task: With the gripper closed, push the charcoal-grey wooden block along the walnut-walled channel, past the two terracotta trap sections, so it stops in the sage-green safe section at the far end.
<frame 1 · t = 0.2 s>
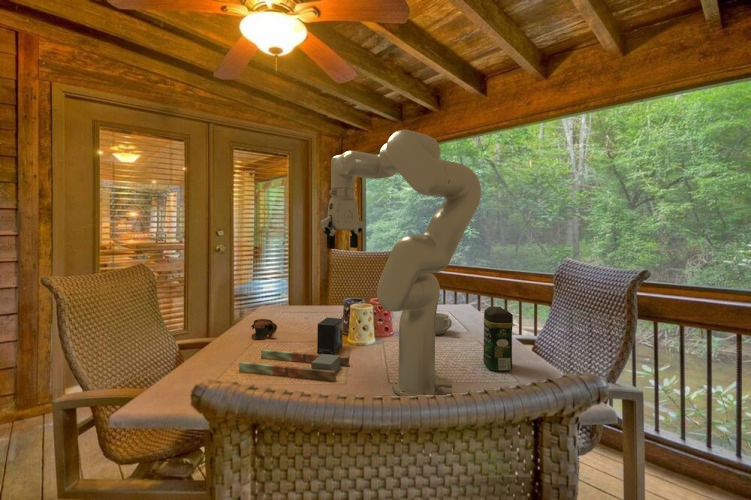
hand: (342, 248, 122), 36 cm above the table, tool pointing down, fingers open, 9 cm apart
coffee jar: (497, 367, 117), on the table
teacup: (437, 334, 155), on the table
pottery mug: (264, 337, 149), on the table
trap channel: (295, 368, 115), on the table
grey block: (326, 372, 113), on the table
small box: (330, 350, 133), on the table
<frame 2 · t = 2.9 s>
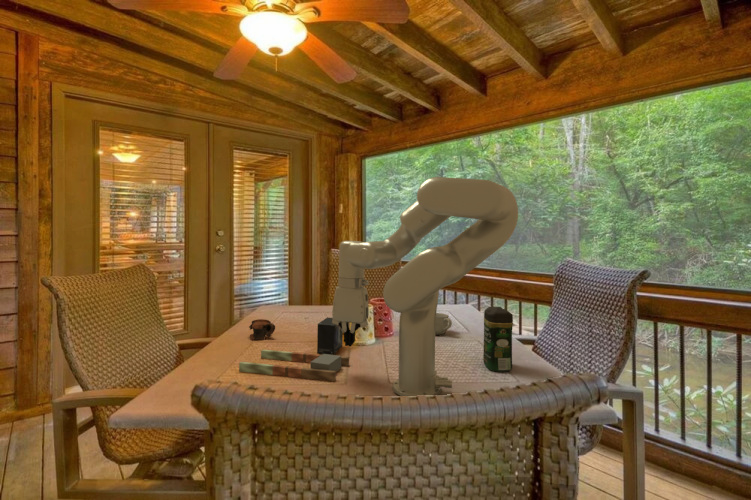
hand: (349, 344, 111), 8 cm above the table, tool pointing down, fingers closed
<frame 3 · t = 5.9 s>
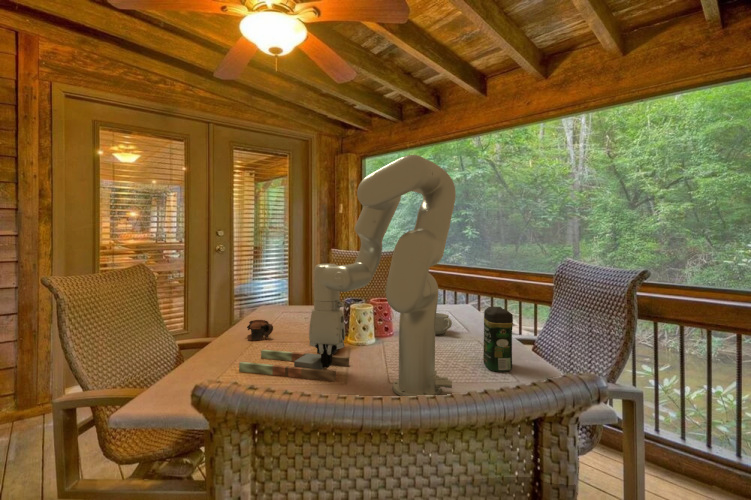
hand: (326, 366, 113), 2 cm above the table, tool pointing down, fingers closed
grey block: (310, 371, 113), on the table
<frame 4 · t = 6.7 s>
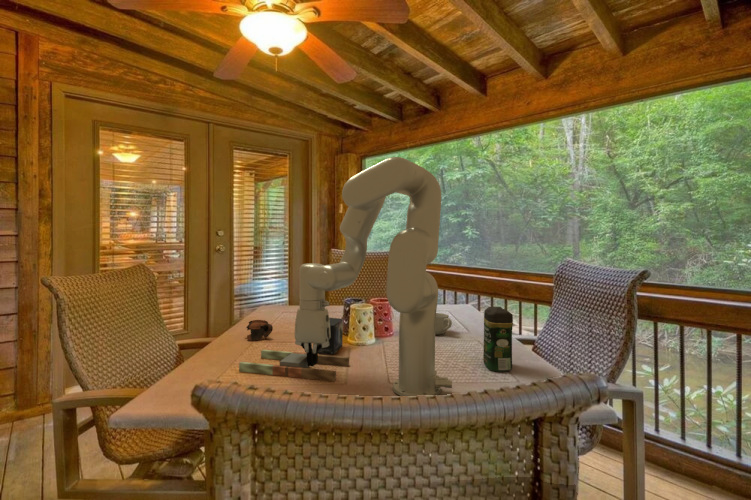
hand: (312, 364, 114), 2 cm above the table, tool pointing down, fingers closed
grey block: (295, 370, 114), on the table, touching gripper
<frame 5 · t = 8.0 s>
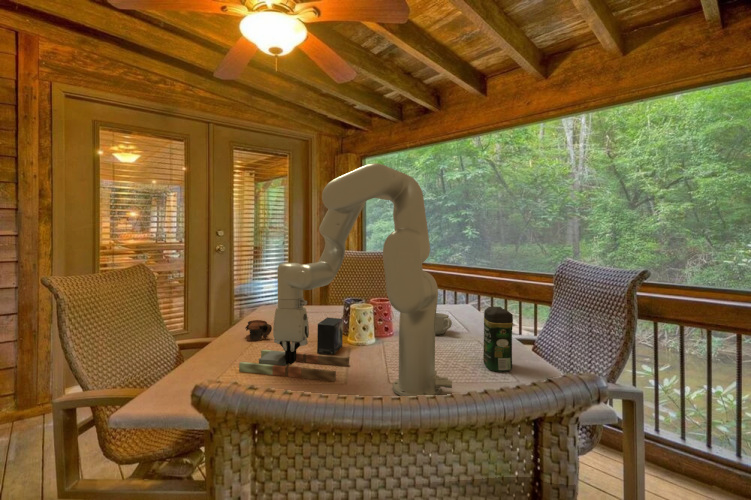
hand: (290, 362, 115), 1 cm above the table, tool pointing down, fingers closed
grey block: (274, 368, 115), on the table
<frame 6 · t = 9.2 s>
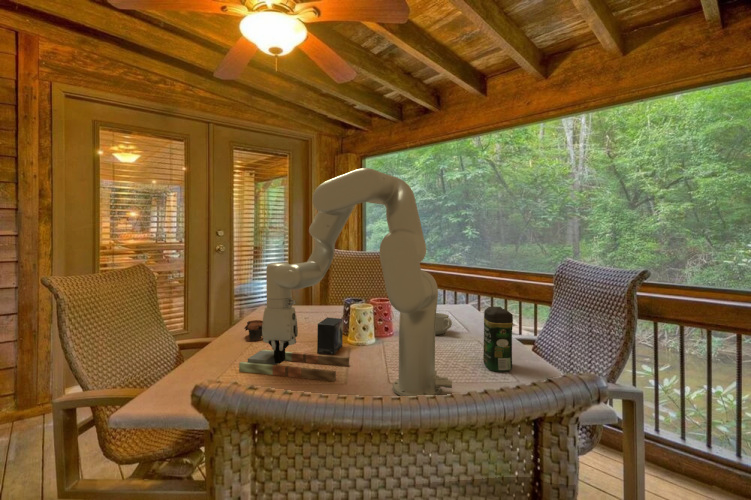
hand: (279, 361, 116), 1 cm above the table, tool pointing down, fingers closed
grey block: (263, 367, 116), on the table, touching gripper
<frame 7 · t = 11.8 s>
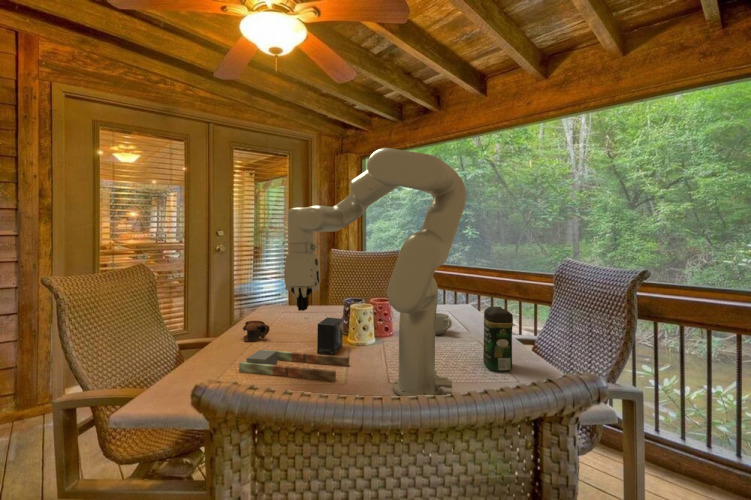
hand: (302, 309, 114), 18 cm above the table, tool pointing down, fingers closed
grey block: (262, 367, 116), on the table
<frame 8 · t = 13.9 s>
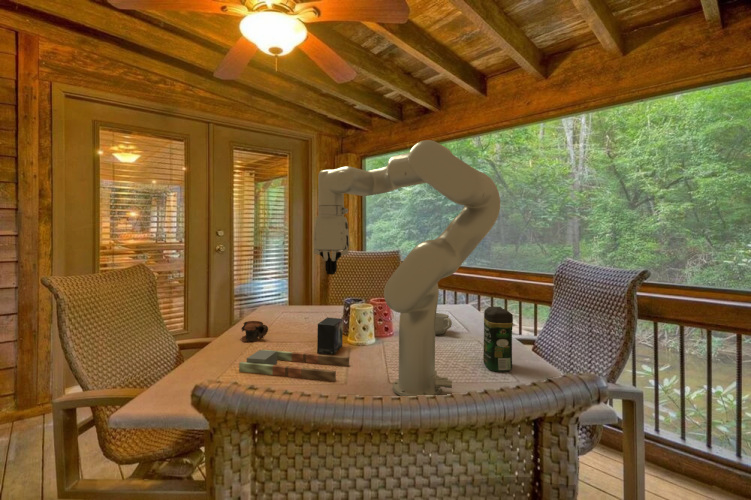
hand: (331, 273, 113), 29 cm above the table, tool pointing down, fingers closed
at the end: grey block inside the target area (1.6 cm from its centre), on the table; grey block tilted 0°; the gripper is holding nothing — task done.
